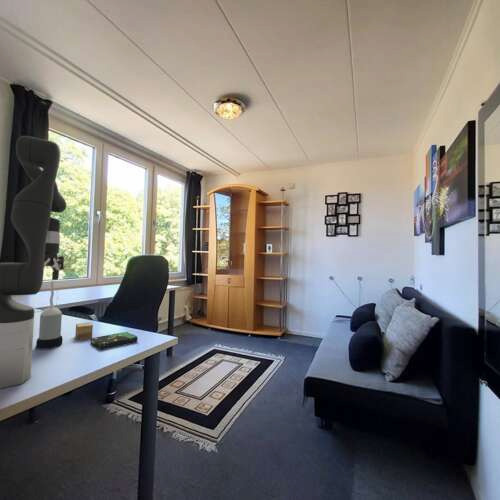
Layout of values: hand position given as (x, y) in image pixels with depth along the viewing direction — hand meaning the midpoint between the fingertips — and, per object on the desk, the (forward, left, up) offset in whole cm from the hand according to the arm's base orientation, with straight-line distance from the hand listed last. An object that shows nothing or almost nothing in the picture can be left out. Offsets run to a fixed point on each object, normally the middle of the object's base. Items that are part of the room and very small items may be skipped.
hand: (46, 280), depth 111 cm
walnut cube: (-7, -14, -24) cm, 29 cm away
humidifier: (-12, -2, -24) cm, 27 cm away
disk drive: (-21, -23, -25) cm, 40 cm away
